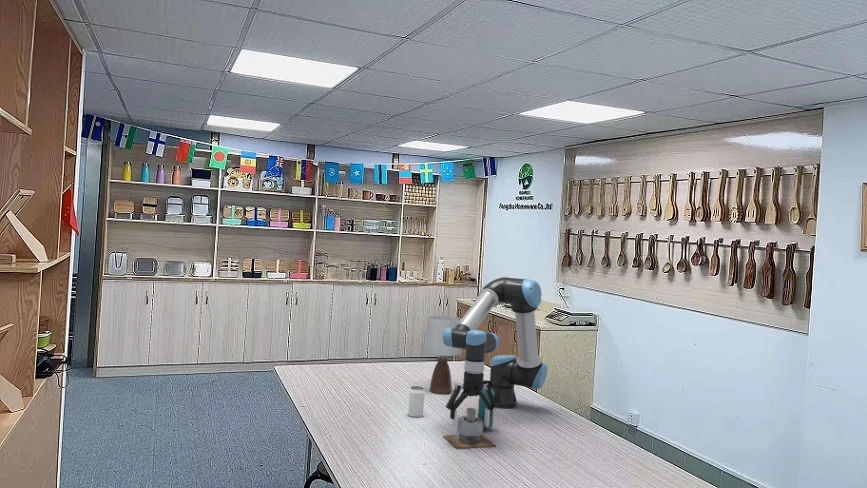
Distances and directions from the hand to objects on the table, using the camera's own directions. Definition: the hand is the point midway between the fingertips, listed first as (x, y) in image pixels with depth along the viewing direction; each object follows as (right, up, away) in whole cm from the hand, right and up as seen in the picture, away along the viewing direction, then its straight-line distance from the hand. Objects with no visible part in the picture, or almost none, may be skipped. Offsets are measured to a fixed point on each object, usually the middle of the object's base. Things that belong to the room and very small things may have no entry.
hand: (470, 426), depth 250 cm
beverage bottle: (+7, -6, +17) cm, 20 cm away
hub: (0, -2, 0) cm, 2 cm away
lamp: (-11, -4, +77) cm, 78 cm away
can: (-22, -4, +31) cm, 38 cm away
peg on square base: (0, -6, 0) cm, 6 cm away
